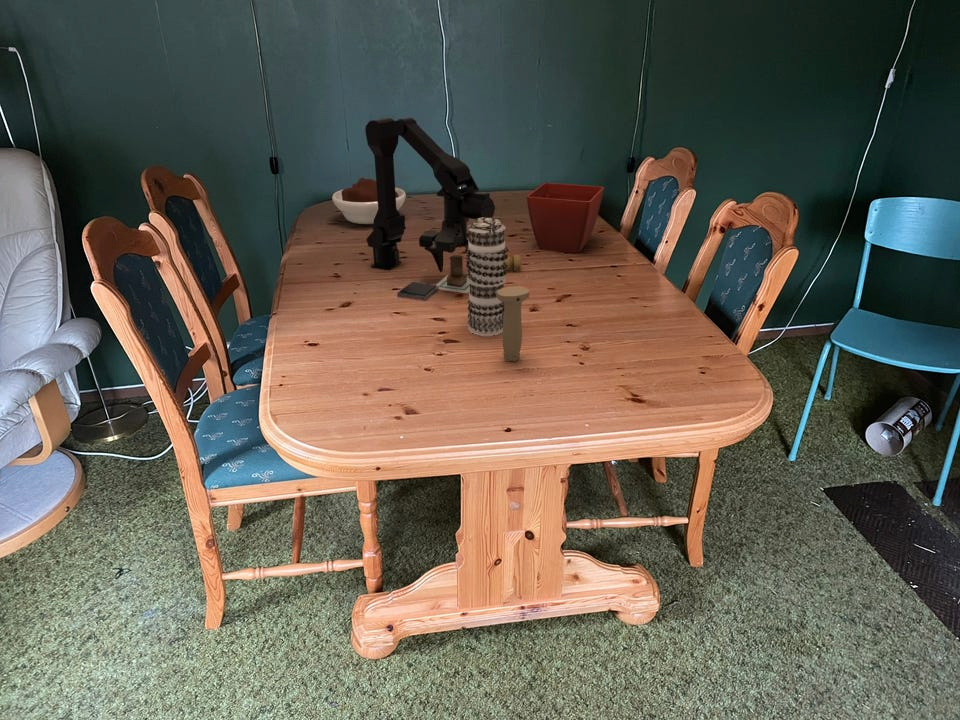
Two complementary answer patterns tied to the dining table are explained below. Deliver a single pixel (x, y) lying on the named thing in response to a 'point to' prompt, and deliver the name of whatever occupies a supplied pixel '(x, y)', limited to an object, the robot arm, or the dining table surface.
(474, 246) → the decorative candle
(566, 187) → the plant pot
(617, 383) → the dining table surface
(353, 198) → the bowl of chocolate pudding
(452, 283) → the stamp
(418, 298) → the ink pad
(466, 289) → the print card
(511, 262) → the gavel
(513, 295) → the handle
